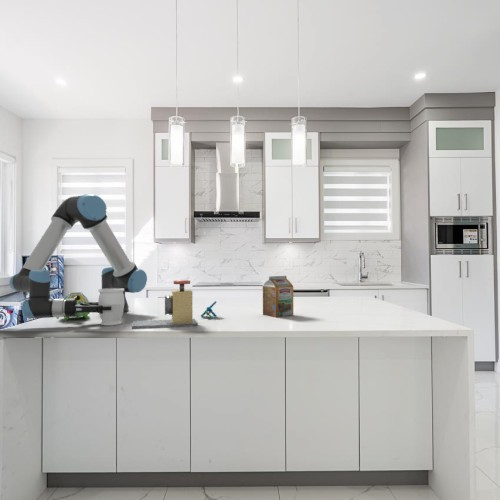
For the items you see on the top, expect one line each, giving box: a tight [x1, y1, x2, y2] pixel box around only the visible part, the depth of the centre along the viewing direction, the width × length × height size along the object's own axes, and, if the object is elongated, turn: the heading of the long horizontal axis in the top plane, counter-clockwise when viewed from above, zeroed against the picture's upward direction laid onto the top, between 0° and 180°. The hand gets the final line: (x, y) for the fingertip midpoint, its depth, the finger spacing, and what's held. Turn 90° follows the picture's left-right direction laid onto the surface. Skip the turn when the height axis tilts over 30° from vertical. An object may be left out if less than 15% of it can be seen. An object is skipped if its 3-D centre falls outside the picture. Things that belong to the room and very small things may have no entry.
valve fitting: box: [131, 279, 199, 330], centre depth 164 cm, size 13×26×18 cm, turn 104°
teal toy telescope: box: [200, 301, 218, 319], centre depth 184 cm, size 11×6×10 cm
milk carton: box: [262, 275, 294, 318], centre depth 190 cm, size 11×11×19 cm
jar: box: [97, 288, 124, 327], centre depth 166 cm, size 11×10×15 cm
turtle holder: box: [62, 291, 91, 322], centre depth 179 cm, size 12×18×12 cm
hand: (121, 306), depth 166 cm, fingers open, 11 cm apart
